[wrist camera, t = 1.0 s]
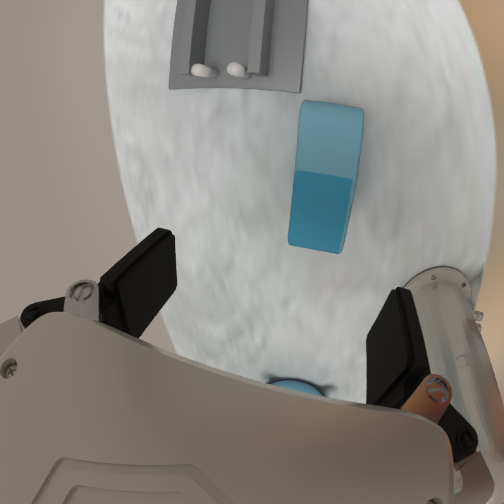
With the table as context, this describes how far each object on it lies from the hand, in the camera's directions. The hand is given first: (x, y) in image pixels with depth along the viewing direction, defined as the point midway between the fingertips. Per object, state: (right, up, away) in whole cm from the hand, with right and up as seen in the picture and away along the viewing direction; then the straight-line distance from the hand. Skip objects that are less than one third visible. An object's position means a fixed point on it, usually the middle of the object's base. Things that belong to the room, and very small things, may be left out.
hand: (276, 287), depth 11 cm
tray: (-3, +28, +11) cm, 31 cm away
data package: (+8, +12, +18) cm, 23 cm away
